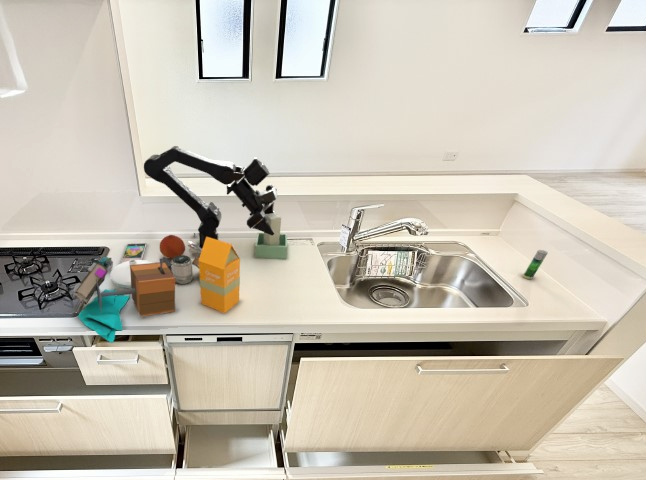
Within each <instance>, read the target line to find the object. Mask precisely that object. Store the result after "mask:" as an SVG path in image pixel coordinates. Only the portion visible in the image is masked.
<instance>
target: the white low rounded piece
mask: <svg viewBox="0 0 646 480" xmlns="http://www.w3.org/2000/svg"><path fill="white" fill-rule="evenodd" d="M148 263H153V262H152V261H150V260H146V259H142V260H130V261H126V262H123V263H121V262H120V263H119V264H117V265H116V266H114V267H112V269H111V271H110V272H109V278H110V280H111V282H112V283H113V284H115V286H117V287H120V288H124V289H130V288H131V274H130V265H138V264H148Z"/></svg>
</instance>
